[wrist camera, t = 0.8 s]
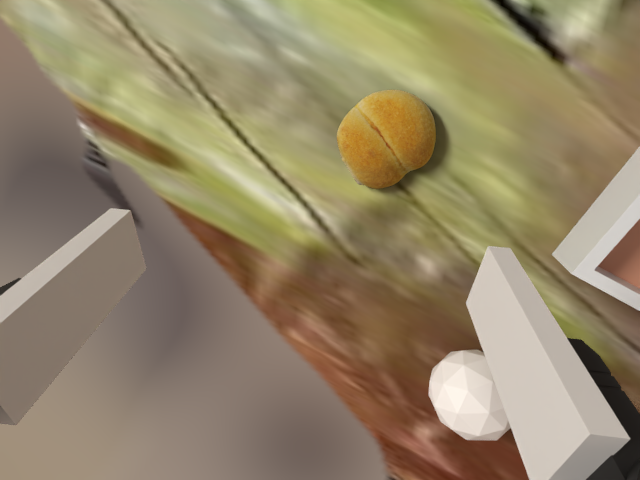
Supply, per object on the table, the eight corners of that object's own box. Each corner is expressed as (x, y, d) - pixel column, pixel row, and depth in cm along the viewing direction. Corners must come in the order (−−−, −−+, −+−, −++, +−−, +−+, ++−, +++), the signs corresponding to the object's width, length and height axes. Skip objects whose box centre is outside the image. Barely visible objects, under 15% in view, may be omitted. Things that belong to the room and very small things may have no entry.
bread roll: (452, 146, 32) (453, 145, 28) (371, 199, 36) (362, 204, 32) (404, 70, 32) (398, 59, 28) (327, 130, 36) (313, 128, 32)
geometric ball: (490, 355, 38) (556, 414, 31) (435, 405, 38) (488, 475, 31) (458, 318, 34) (523, 375, 27) (398, 373, 35) (447, 444, 28)
